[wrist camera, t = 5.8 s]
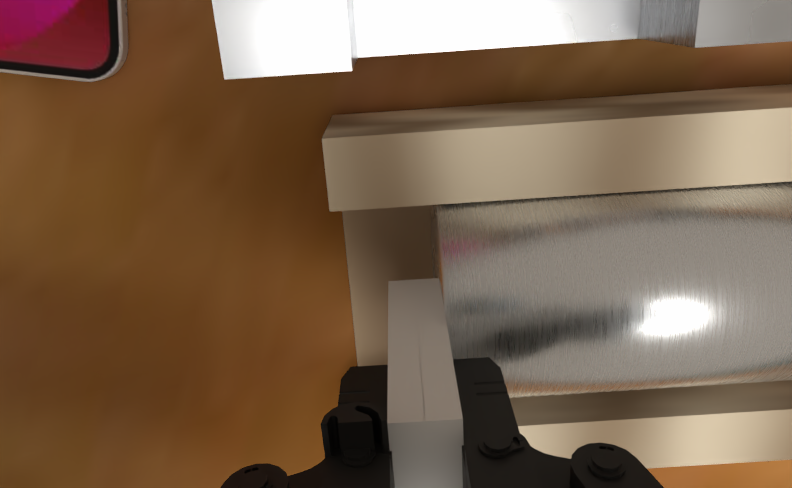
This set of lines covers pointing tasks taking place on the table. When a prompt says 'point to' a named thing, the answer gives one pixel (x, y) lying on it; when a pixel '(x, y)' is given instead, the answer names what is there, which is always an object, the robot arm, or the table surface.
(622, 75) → the table surface
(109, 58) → the smartphone
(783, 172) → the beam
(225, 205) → the table surface
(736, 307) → the axle
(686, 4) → the cradle
